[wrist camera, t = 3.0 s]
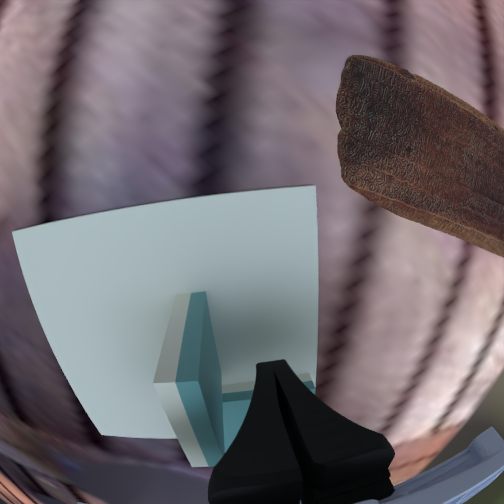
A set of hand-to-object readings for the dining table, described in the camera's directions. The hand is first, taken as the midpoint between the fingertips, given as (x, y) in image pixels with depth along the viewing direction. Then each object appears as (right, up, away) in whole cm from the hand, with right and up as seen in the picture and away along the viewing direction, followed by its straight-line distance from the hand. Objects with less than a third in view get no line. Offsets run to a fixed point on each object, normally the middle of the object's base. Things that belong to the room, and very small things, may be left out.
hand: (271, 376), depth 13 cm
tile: (-4, +1, +4) cm, 5 cm away
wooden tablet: (+16, +11, +4) cm, 20 cm away
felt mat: (-6, 0, +4) cm, 7 cm away
